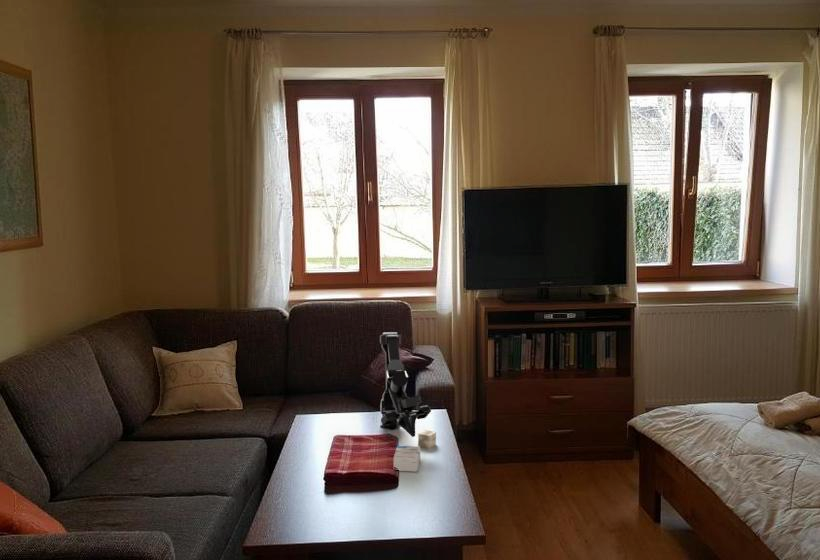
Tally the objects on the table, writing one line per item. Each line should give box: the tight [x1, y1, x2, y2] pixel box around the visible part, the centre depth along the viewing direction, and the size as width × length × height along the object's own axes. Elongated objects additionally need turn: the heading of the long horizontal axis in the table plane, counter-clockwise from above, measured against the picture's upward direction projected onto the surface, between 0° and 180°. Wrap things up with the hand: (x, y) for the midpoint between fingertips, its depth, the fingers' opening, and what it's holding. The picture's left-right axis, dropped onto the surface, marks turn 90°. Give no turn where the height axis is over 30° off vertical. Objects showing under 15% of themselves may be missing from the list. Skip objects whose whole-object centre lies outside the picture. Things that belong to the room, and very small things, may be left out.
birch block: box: [417, 429, 437, 449], centre depth 241 cm, size 5×5×5 cm
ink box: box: [392, 445, 422, 473], centre depth 222 cm, size 9×5×12 cm
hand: (413, 436), depth 228 cm, fingers closed
